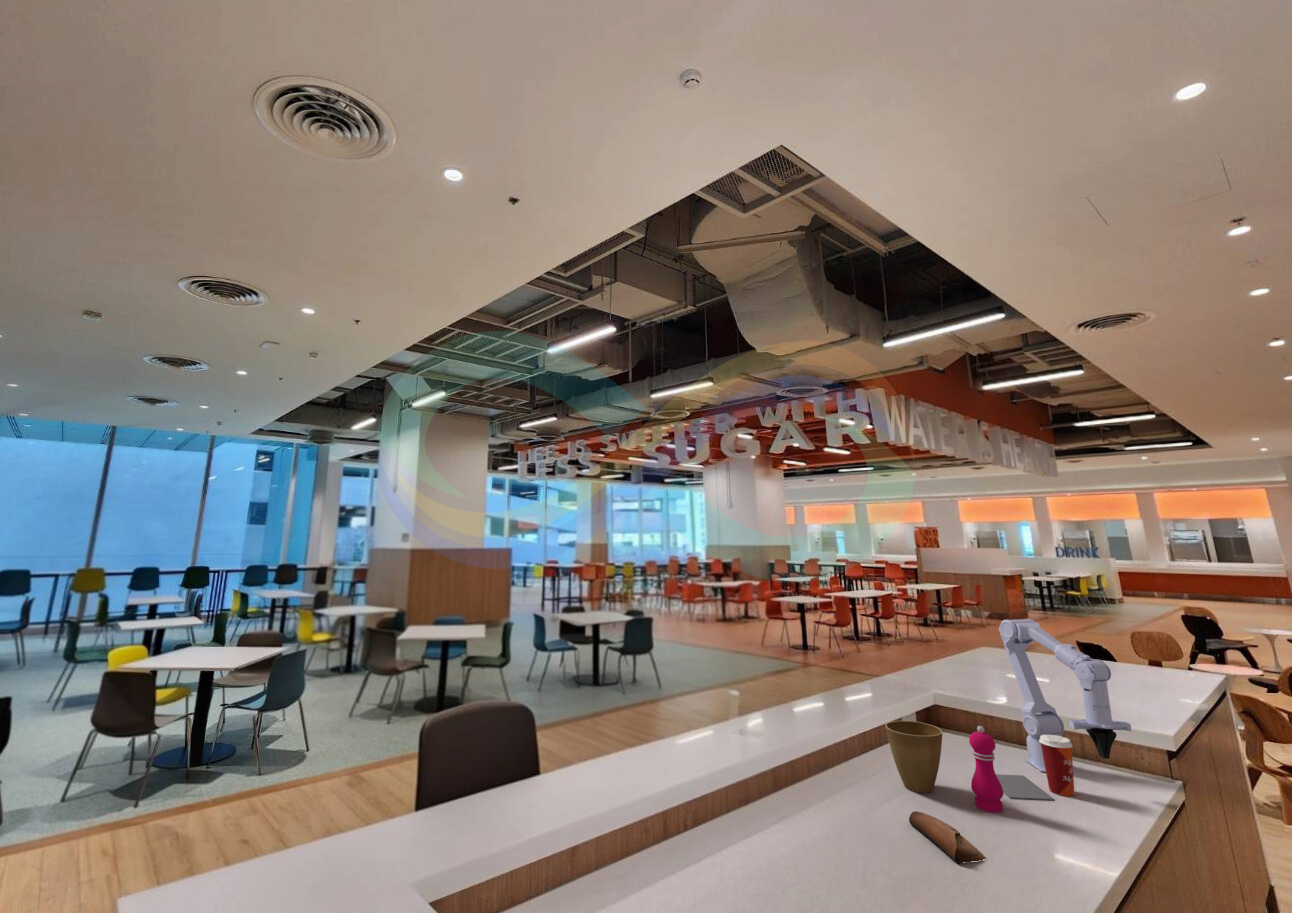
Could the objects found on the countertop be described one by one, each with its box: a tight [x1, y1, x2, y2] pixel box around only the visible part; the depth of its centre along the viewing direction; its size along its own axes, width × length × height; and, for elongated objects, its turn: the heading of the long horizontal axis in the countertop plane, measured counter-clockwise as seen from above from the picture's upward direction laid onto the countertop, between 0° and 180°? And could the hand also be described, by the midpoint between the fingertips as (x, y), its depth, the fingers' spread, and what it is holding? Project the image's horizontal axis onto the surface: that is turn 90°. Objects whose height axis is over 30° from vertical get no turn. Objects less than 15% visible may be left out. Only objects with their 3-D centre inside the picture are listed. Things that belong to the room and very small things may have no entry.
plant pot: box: [885, 720, 943, 794], centre depth 160 cm, size 15×15×16 cm
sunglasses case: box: [908, 810, 987, 864], centre depth 129 cm, size 18×7×7 cm, turn 6°
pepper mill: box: [968, 725, 1004, 814], centre depth 147 cm, size 7×7×20 cm
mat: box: [995, 773, 1056, 802], centre depth 157 cm, size 16×11×1 cm
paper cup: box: [1039, 735, 1075, 797], centre depth 155 cm, size 8×8×14 cm
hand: (1104, 757), depth 154 cm, fingers closed
